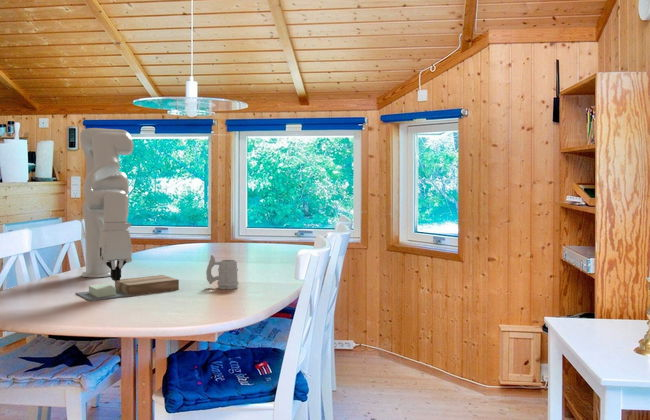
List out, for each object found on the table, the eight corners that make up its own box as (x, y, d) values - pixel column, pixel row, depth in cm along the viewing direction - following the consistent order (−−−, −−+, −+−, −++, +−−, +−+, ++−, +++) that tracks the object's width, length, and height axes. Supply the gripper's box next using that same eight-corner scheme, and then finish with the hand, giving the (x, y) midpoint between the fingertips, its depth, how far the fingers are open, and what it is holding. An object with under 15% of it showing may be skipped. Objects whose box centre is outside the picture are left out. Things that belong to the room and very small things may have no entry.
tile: (106, 283, 195) (106, 290, 195) (88, 285, 191) (88, 292, 191) (115, 287, 188) (116, 295, 188) (97, 289, 184) (97, 297, 185)
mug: (237, 289, 202) (237, 256, 201) (204, 289, 201) (204, 256, 201) (240, 285, 209) (240, 253, 209) (208, 285, 209) (208, 253, 208)
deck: (115, 289, 199) (114, 280, 199) (163, 284, 211) (162, 274, 211) (129, 295, 189) (129, 285, 189) (178, 289, 201) (178, 279, 201)
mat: (75, 294, 191) (75, 292, 191) (116, 289, 201) (116, 288, 200) (90, 301, 180) (90, 300, 180) (133, 295, 189) (133, 294, 189)
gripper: (132, 225, 199) (133, 276, 200) (89, 227, 190) (89, 281, 191) (141, 226, 194) (141, 279, 195) (96, 228, 184) (97, 284, 185)
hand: (116, 280), depth 193 cm, fingers closed
